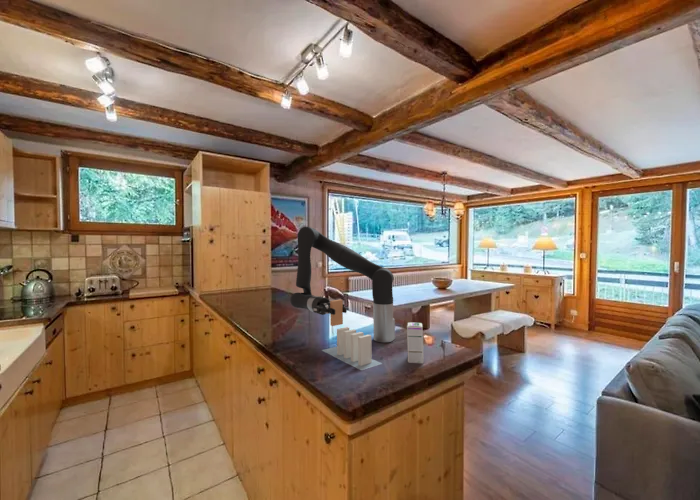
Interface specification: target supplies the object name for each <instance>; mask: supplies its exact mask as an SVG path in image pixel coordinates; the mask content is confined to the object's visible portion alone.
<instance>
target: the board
mask: <svg viewBox="0 0 700 500" xmlns="http://www.w3.org/2000/svg"><path fill="white" fill-rule="evenodd" d="M321 351H322V352H324V353H325V354H328V355H329V356H332V357H333V358H335V359H338V360H340V361H341V362H343V363H345V364H347V365H349V366H352V367H353V368H356V369H357V370H360V371H364V370H367V369H371V368H374V367H377V366H380V365H383V363H382V362H380V361H378V360H375V359H373V358H372V363H369V364H365V365H362V366H360V365H358V361H355V362H352V361H351V357H350V358H347V359H346V358H344V354H342V355H338V354H337V346H334V347H329V348H326V349H321Z"/></svg>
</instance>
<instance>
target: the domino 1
mask: <svg viewBox="0 0 700 500" xmlns="http://www.w3.org/2000/svg"><path fill="white" fill-rule="evenodd" d="M329 301H330V308H333V309H335V315H333V314H329V316H330V318H329V319H330V321H329V322H330V323H329V324H330V326H331V327H335V326H339V325H343V324H344V322H343V321H344V317H343V314H344V313H343V304H344V303H343V299H335V300H329Z"/></svg>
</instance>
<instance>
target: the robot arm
mask: <svg viewBox="0 0 700 500" xmlns="http://www.w3.org/2000/svg"><path fill="white" fill-rule="evenodd" d="M312 248H314V249H316V250H318V251H320V252H322V253H324V254H325V255H326V256H327V257H328V258H329V259H331V260H332V261H333V262H335V263H336V264H337V265H340V266H341V267H343V268H344V269H348V270H350V271H352V272H356V273H359V274H361V275H363V276H365V277H366V278H368V279H370V280H371V287H372V290H371V291H372V292H371V293H372V299H373V301H372V302H373V303H372V305H373V309H372V311H373V314H372V315H373V341H375V342H378V343H390V342H393V341H394V340H395V339H396V319H395V318H394V296H393V282H394V274H393V272H392V271H391V270H390V269H389V268H386V267H383V266H381V265H379V264H376V263H374V262H373V261H371V260H368V259H367V258H366V257H365V256H363V255H361V254H359V253H358V252H357V251H355V250H354V249H351V248H350V247H348V246H346V245H344V244H342V243H339V242H337V241H334V240H332V239H330V238H328V237H327V236H325V235H323V234H322V233H321V232H320V231H318V230H317V229H316V228H313V227H311V226H303V227H301V228H300V229H299V231H298V232H297V253H298V255H297V270H296V272H297V273H296V281H295V286H296V287H297V288H300V289H302V291H303V292H294V293H292V294H291V296H290V299H289V300H290V304H291V306H292V307H294V308H297V309H298V308H299V309H304V310H307V311H310V312H312V313H315V314H317V315H318V314H319V315H322V316H324V315H328V314H329V315H330V314H333V315H335V309H333V308H330V301H331V300H330V299H329V298H327V297H324V296H319V295H313V294H312V288H311V280H312V261H311V253H312ZM347 310H348V308H347V307H346V306H345V304H344V303H343V314H346V313H347Z"/></svg>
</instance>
